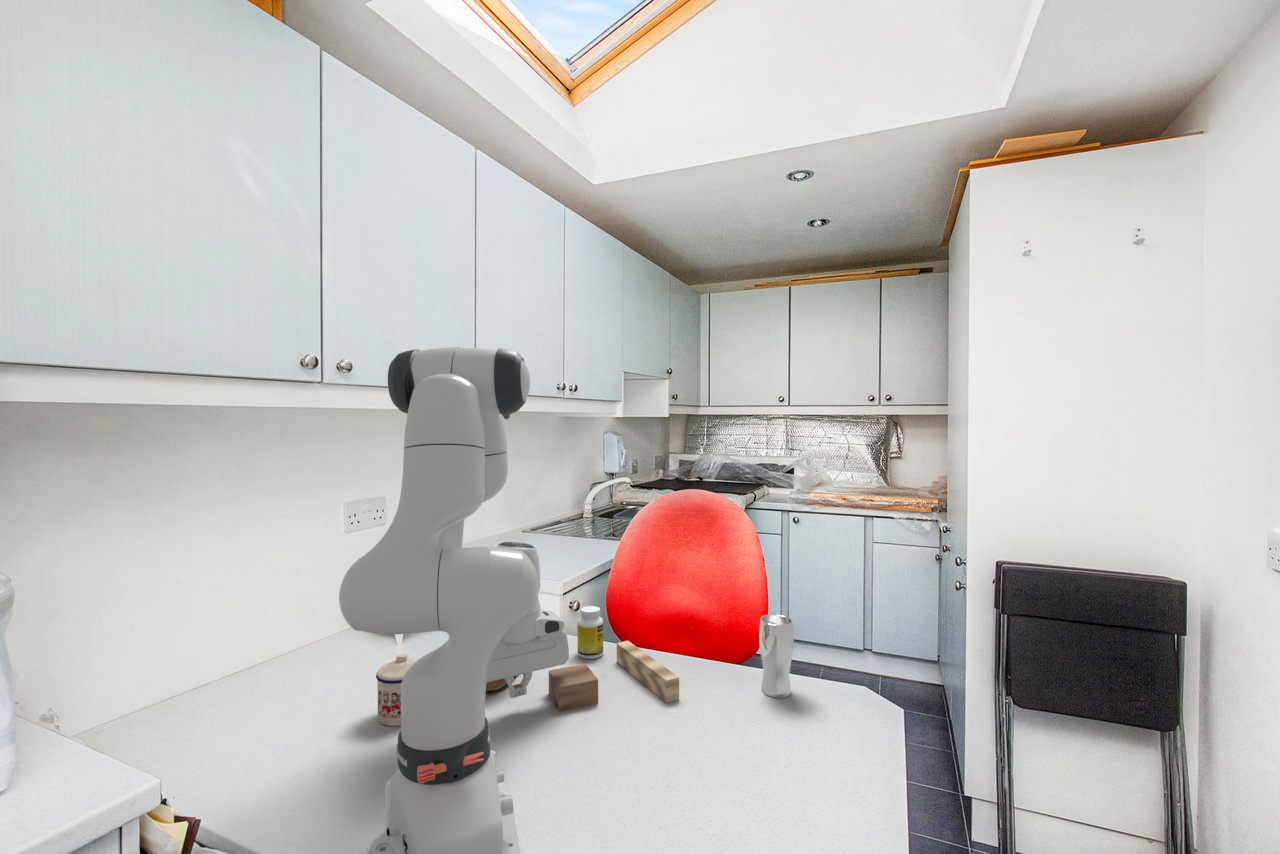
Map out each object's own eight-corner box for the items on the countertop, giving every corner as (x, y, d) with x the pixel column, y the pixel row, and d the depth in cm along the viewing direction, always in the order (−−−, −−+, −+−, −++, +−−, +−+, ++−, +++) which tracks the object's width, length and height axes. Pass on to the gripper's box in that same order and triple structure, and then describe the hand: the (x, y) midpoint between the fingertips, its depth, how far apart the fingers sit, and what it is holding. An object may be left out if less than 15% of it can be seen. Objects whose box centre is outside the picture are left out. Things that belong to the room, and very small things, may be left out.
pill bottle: (602, 660, 136) (602, 613, 136) (576, 659, 136) (575, 613, 136) (604, 649, 142) (604, 604, 142) (579, 649, 143) (579, 604, 142)
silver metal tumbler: (768, 680, 126) (768, 611, 125) (799, 690, 121) (799, 618, 121) (753, 692, 120) (753, 620, 120) (784, 702, 116) (784, 628, 115)
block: (598, 704, 116) (598, 679, 116) (559, 712, 113) (559, 687, 112) (585, 687, 123) (585, 663, 123) (548, 694, 120) (548, 670, 120)
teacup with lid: (366, 725, 108) (365, 663, 107) (394, 701, 116) (393, 644, 116) (425, 731, 106) (425, 668, 105) (450, 706, 115) (449, 648, 114)
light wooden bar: (679, 699, 117) (679, 677, 117) (666, 702, 116) (666, 680, 116) (628, 659, 136) (628, 640, 136) (616, 662, 135) (616, 643, 135)
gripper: (467, 641, 104) (467, 716, 105) (571, 620, 115) (572, 689, 115) (458, 629, 110) (459, 701, 110) (559, 610, 120) (559, 676, 121)
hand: (517, 695), depth 113 cm, fingers closed
